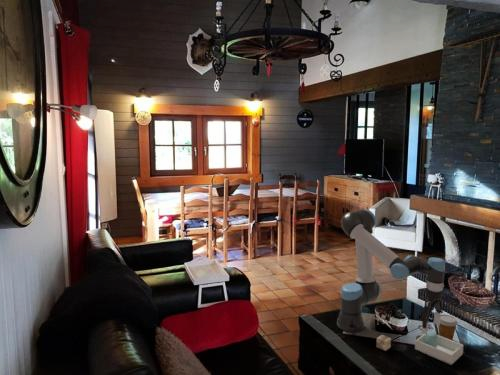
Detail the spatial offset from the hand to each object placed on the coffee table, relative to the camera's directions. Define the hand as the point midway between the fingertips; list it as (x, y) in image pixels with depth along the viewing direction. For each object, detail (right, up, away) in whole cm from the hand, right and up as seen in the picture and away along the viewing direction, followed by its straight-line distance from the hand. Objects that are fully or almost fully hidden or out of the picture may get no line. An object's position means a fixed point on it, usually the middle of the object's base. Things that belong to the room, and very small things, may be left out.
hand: (430, 328), depth 195 cm
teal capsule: (+1, -10, +1) cm, 10 cm away
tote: (+3, -11, -2) cm, 11 cm away
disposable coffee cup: (+12, -9, +9) cm, 18 cm away
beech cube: (-23, -10, +3) cm, 25 cm away
